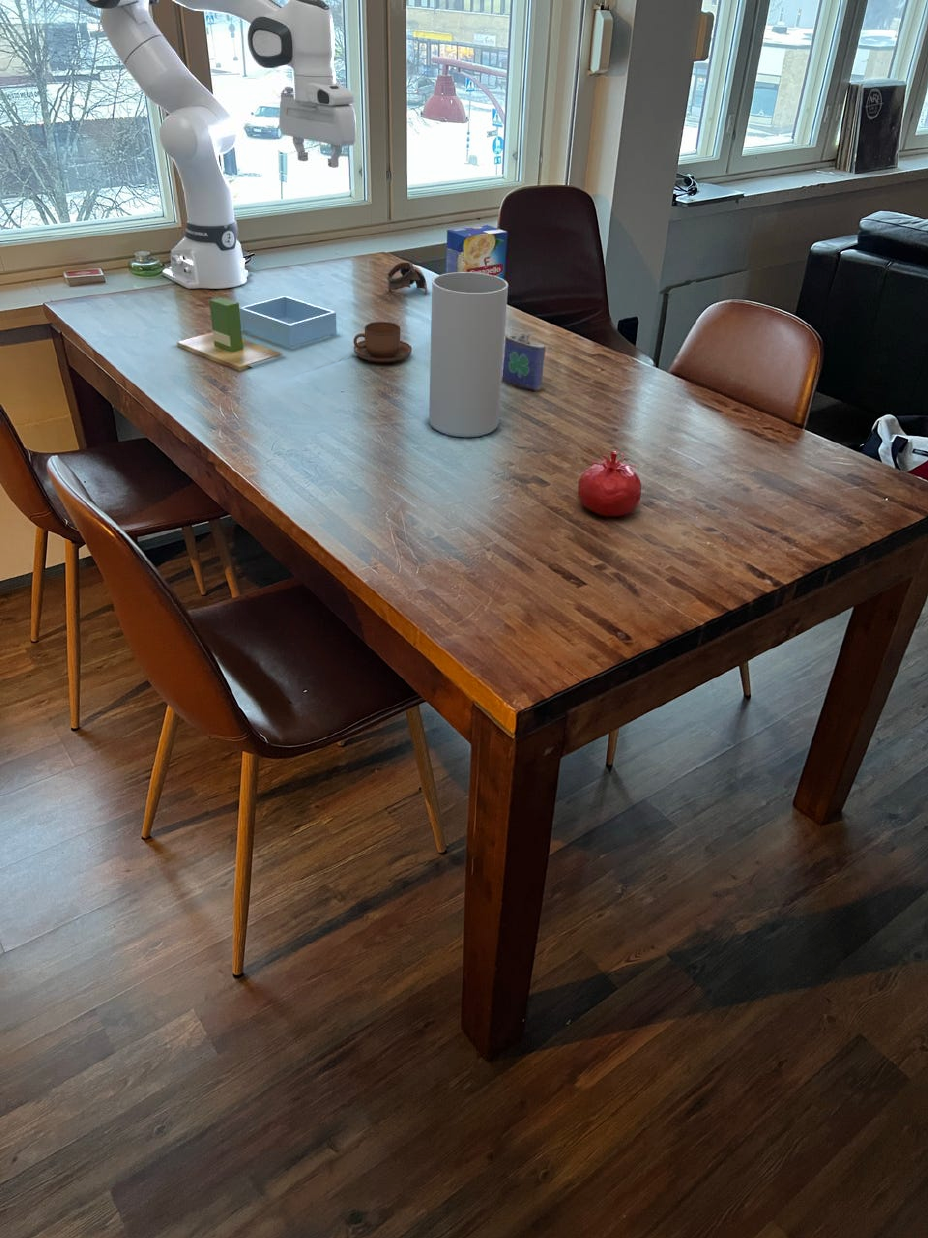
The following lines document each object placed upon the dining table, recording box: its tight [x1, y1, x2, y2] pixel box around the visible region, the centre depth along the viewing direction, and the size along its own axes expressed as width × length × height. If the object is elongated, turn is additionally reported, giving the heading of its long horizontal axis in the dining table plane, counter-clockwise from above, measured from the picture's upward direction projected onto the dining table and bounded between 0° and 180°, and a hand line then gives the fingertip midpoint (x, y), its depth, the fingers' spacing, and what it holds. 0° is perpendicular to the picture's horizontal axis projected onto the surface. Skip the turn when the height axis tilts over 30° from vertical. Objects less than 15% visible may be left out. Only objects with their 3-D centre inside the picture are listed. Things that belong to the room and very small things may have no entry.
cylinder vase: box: [428, 272, 509, 438], centre depth 160 cm, size 12×12×25 cm
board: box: [176, 331, 283, 372], centre depth 192 cm, size 20×11×1 cm, turn 51°
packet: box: [208, 296, 243, 353], centre depth 189 cm, size 6×3×10 cm, turn 51°
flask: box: [501, 331, 546, 393], centre depth 181 cm, size 9×3×11 cm, turn 50°
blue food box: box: [445, 224, 508, 280], centre depth 202 cm, size 7×11×22 cm, turn 127°
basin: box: [239, 295, 338, 348], centre depth 201 cm, size 16×13×5 cm
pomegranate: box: [577, 450, 642, 518], centre depth 141 cm, size 10×10×9 cm
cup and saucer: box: [353, 321, 412, 363], centre depth 192 cm, size 12×12×6 cm
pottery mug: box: [386, 261, 429, 295], centre depth 232 cm, size 12×10×8 cm
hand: (318, 163), depth 201 cm, fingers open, 8 cm apart
